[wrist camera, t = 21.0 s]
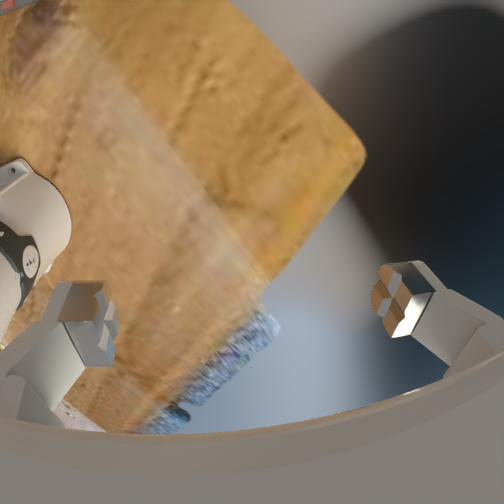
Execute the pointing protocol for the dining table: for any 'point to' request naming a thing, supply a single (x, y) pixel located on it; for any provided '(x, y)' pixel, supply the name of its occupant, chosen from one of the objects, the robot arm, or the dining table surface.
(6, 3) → the socket plate
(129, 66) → the dining table surface
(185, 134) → the dining table surface
